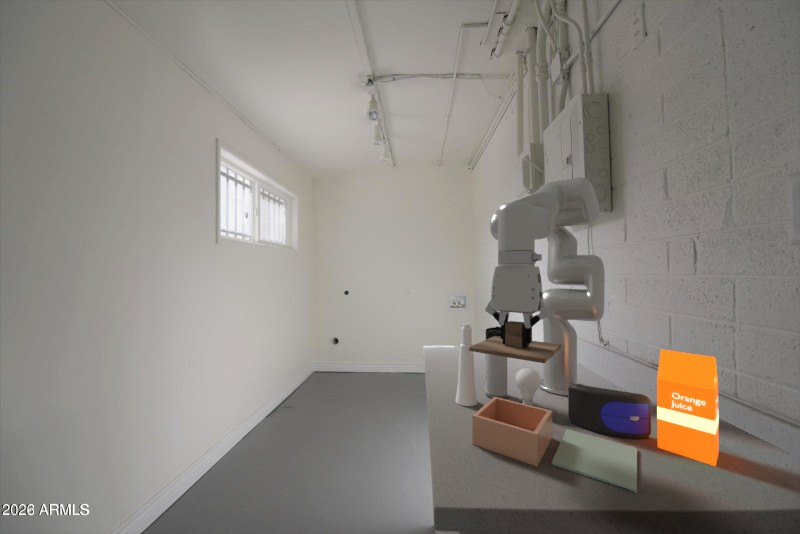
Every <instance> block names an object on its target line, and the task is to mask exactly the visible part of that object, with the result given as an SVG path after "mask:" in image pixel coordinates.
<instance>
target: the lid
mask: <svg viewBox="0 0 800 534" xmlns="http://www.w3.org/2000/svg"><path fill="white" fill-rule="evenodd" d="M523 328H524V321H515V320H510V321H509V320H508V322H506V323H505V344H503V339H501V337H499V336H494V337H491V338H489V339H487V340H485V339H484V340H482V341H480V342H478V343H475V344H472V345H473V346H470V347H469V351H473V353H481V354H491V355H497V356H503V357H507V358H509V359H517V360H523V361H528V362H534V363H541V364H544V363H546V362H547V361H548V360H549V359H550V358H551V357H552V356H553V355H554V354H555V353H556V352H557V351H558V350H559V349H561V344H553V343H546V342H543V341H536V340H532V342H531V343H530V344H529V346H527V347H523V346H522V329H523Z"/></svg>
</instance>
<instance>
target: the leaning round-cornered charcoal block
mask: <svg viewBox="0 0 800 534" xmlns="http://www.w3.org/2000/svg"><path fill="white" fill-rule="evenodd" d="M578 384H579V383H577V384H573V385H570V386H569V388H568V396H567V397H568V401H567V402H568V404H567V405H568V413H567V414H568V415H567V416H568V419H569V421H571V423H573V424H574V425H576V426H579V427H581V428H583V429H586V430H589V431H592V432H595V433H596V432H597V433H599V434H602V435H603V434H604V435H608V436H613V437H619V438H626V439H627V438H628V439H640V440H641V439H646V438H648V437H650V436H651V434H652V400H651V399H650V398H649V397H648V396H646V395H645V394H642V393H635V392H628V391H622V390H616V389H610V388H604V387H603V388H602V387H596V386H590V385H584V384H583V385H582V384H579V385H578Z"/></svg>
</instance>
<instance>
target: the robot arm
mask: <svg viewBox="0 0 800 534" xmlns="http://www.w3.org/2000/svg"><path fill="white" fill-rule="evenodd" d="M492 215H493V216H492V217H491V219H490V224H489V229H490V233H491V236H492V237H493V238H494V239H495V240H496V241H497V266H495V267H494V271H493V276H492V284H491V294H490V295H491V296H490V301H489V303H488V304H487V306H486V307H485V312H487V314H489V315H491V316H493V318H494V319H495V320H496V321H497V322H498V326H500V327H501V339H503V344H505V323H506V322H509V320H510V319H509V318H510V313H518V314H522V318H523V322H524V328H523V329H522V346H523V347H527V346H529V344H530V343H531V342H532V341H533V327H534V326H535V325H536V324H538V322H540V321H541V320H542V326H543V328H542V329H543V341H542V342H546V343H553V344H561V349H559V350H558V351H557V352H556V353H555V354H554V355H553V356H552V357H551V358H550V359H549V360H548V361H547V362H546V363H543V378H542V379H540V380H541V382H540V386H539V388H540V389H541V390H543V391H545V392H548V393H550V394H555V395H558V396H559V395H560V396H567V397H568V388H569V386H570V385H573V384H578V385H580V384H579V383H578V335H577V331H576V330H575V327H574V326H573V325H572V324H571V323H570V322H569V320H570V321H583V322H598V321H600V320H602V319H603V317H604V313H605V287H606V286H605V285H606V281H605V280H606V279H605V278H606V277H605V274H606V273H605V266H604V265H605V264H604V261H603V259H602V258H601V257H600V256H597V255H594V254H581V255H580V254H579V255H578V240H577V238H576V237H575V236H574V234H573V233H572V232H570V231H569V230H568V229H567V228H566V227H572V226H585V225H586V226H587V225H591V224H594V223H596V222H597V221H598V220H599V219H598V218H599V216H600V203H599V201H598V198H597V194H596V191H595V188H594V187H593V184H592V183H591V181H590V180H588V179H587V178H586V177H582V176H581V177H580V176H579V177H572V178H566V179H560V180H554V181H549V182H547V183H544V184H543V185H541V186H540V187H539V188H538V189H537V190H536V191H535V192H534V193H532V194H530V195H526V196H524V197H522V198H520V199H516V200H513V201H511V202H508V203H504V204H501V205H500V207H499V208H498V209H497V210H496V211H495V212H494V213H493V214H492ZM544 239H546V240H547V243H548V244H547V245H548V248H547V250H548V251H547V269H546V271H547V272H546V275H547V280H548V281H549V282H550V283H551V284H552V285H553V284H554V285H561V286H583V287H586V289H580V288H579V289H578V288H574V289H573V288H559V287H558V288H549V289H546V290H544V291H543V285H542V284H543V283H542V276H541V271H540V267H539V266H537V265H536V266H535V264H536V263H537V262H539V261H542V260H543V256H542V255H543V254H541V253H540V254H539V253H536V251H535V248H536V247H535V242H536V240H544ZM538 312H539V313H538ZM536 313H538V314H536ZM533 314H536V315H533Z"/></svg>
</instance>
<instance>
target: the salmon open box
mask: <svg viewBox="0 0 800 534" xmlns="http://www.w3.org/2000/svg"><path fill="white" fill-rule="evenodd" d="M522 403H523V402H522ZM522 403H521V402H517V401H513V400H510V399H507V398H505V399H502V398H498V397H494V398H490V400H489V401H487V403H486V404H484V405H483V406H482V407H481V408H480V409H479V410H477V411H476V412H475V413H474V414H472V428H471V429H472V437H471V438H472V442H471V443H472V445H474V446H477V447H479V448H482V449H485V450H489V451H491V452H494V453H497V454H499V455H502V456H505V457H508V458H512V459H514V460H517V461H520V462H522V463H526V464H528V465H531V466H534V467H538V466H539V464H540V462H541V461H542V459H543V456H544V455H545V453H546V451H547V448H548V447H549V445H550V443H551V442H552V440H553V410H551V409H546V408H542V407H538V406H534V405H533V406H530V405H526V404H522ZM549 442H550V443H549ZM545 450H546V451H545Z"/></svg>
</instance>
